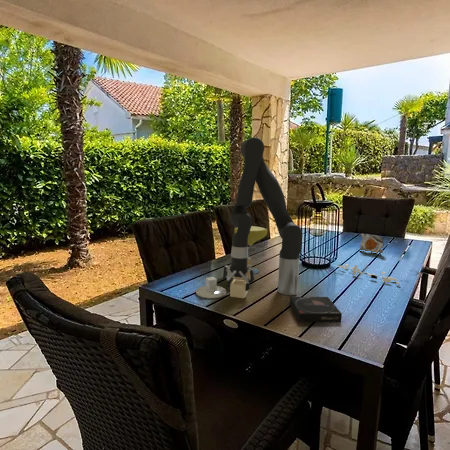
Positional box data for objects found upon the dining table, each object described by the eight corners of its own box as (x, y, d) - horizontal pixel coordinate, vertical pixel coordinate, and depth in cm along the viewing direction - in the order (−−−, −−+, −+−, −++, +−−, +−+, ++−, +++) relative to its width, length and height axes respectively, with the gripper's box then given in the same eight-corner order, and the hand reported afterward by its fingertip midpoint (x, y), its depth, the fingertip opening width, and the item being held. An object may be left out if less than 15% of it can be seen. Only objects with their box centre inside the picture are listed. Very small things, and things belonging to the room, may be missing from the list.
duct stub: (217, 285, 168) (217, 272, 167) (231, 295, 156) (231, 281, 155) (191, 290, 162) (191, 276, 160) (203, 300, 149) (203, 285, 148)
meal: (358, 252, 234) (359, 234, 231) (360, 251, 237) (361, 233, 235) (381, 256, 225) (383, 237, 223) (383, 255, 228) (385, 236, 226)
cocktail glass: (227, 273, 187) (228, 228, 182) (241, 264, 203) (242, 223, 198) (258, 278, 179) (259, 232, 174) (270, 269, 194) (272, 226, 190)
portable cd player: (326, 304, 149) (327, 296, 148) (340, 323, 132) (341, 313, 131) (289, 304, 148) (289, 296, 147) (299, 323, 131) (299, 313, 131)
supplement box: (235, 284, 170) (236, 259, 168) (232, 280, 175) (233, 256, 173) (250, 282, 173) (251, 258, 170) (247, 279, 177) (248, 255, 175)
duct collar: (247, 293, 159) (247, 280, 158) (244, 298, 153) (244, 285, 152) (234, 291, 161) (234, 279, 160) (230, 296, 155) (230, 284, 154)
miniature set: (331, 270, 192) (339, 268, 201) (398, 289, 170) (403, 286, 180) (333, 259, 191) (341, 258, 201) (400, 277, 170) (406, 275, 179)
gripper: (256, 255, 155) (254, 288, 158) (227, 251, 159) (225, 284, 162) (252, 259, 148) (251, 294, 151) (222, 255, 152) (220, 289, 155)
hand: (238, 289), depth 157 cm, fingers open, 8 cm apart
